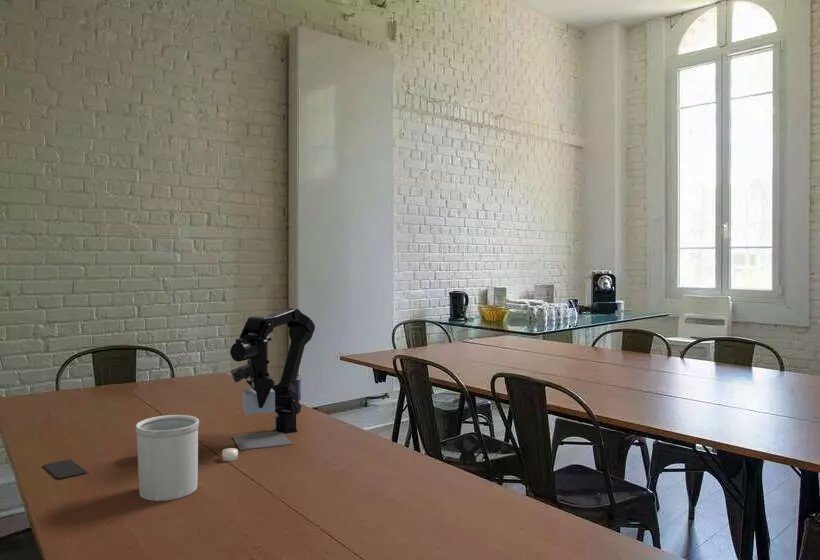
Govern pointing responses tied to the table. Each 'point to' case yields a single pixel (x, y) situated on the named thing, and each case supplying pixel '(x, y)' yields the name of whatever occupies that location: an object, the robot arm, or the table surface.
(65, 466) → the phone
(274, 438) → the mat
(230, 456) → the pebble
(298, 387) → the flask
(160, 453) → the utensil holder
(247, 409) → the grey rectangular block
